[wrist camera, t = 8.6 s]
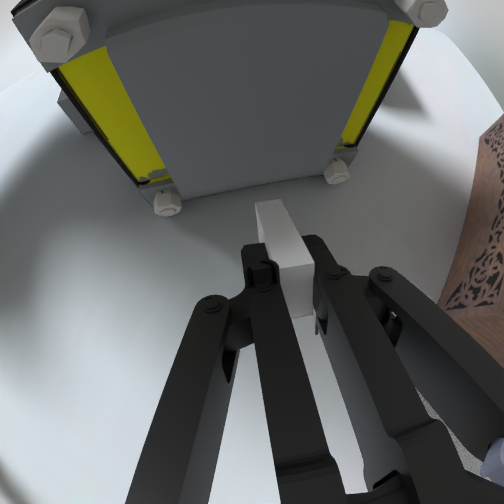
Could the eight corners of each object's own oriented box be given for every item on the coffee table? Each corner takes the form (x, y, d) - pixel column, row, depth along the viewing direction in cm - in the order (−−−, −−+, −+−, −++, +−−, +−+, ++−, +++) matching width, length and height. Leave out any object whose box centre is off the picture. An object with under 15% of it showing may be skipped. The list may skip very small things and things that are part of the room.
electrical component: (152, 226, 23) (-14, 41, 4) (146, 132, 25) (65, -41, 6) (353, 187, 24) (477, -5, 4) (318, 102, 26) (363, -73, 7)
